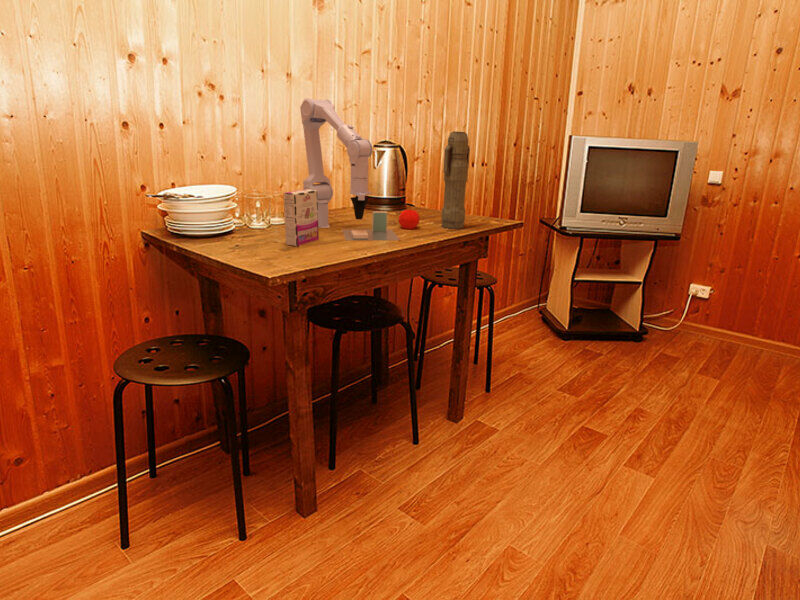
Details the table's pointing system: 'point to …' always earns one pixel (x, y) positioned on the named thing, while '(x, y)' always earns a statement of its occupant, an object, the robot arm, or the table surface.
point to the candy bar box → (301, 217)
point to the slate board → (373, 235)
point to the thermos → (455, 180)
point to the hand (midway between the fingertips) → (358, 219)
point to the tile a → (359, 234)
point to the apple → (409, 219)
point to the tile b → (379, 222)
